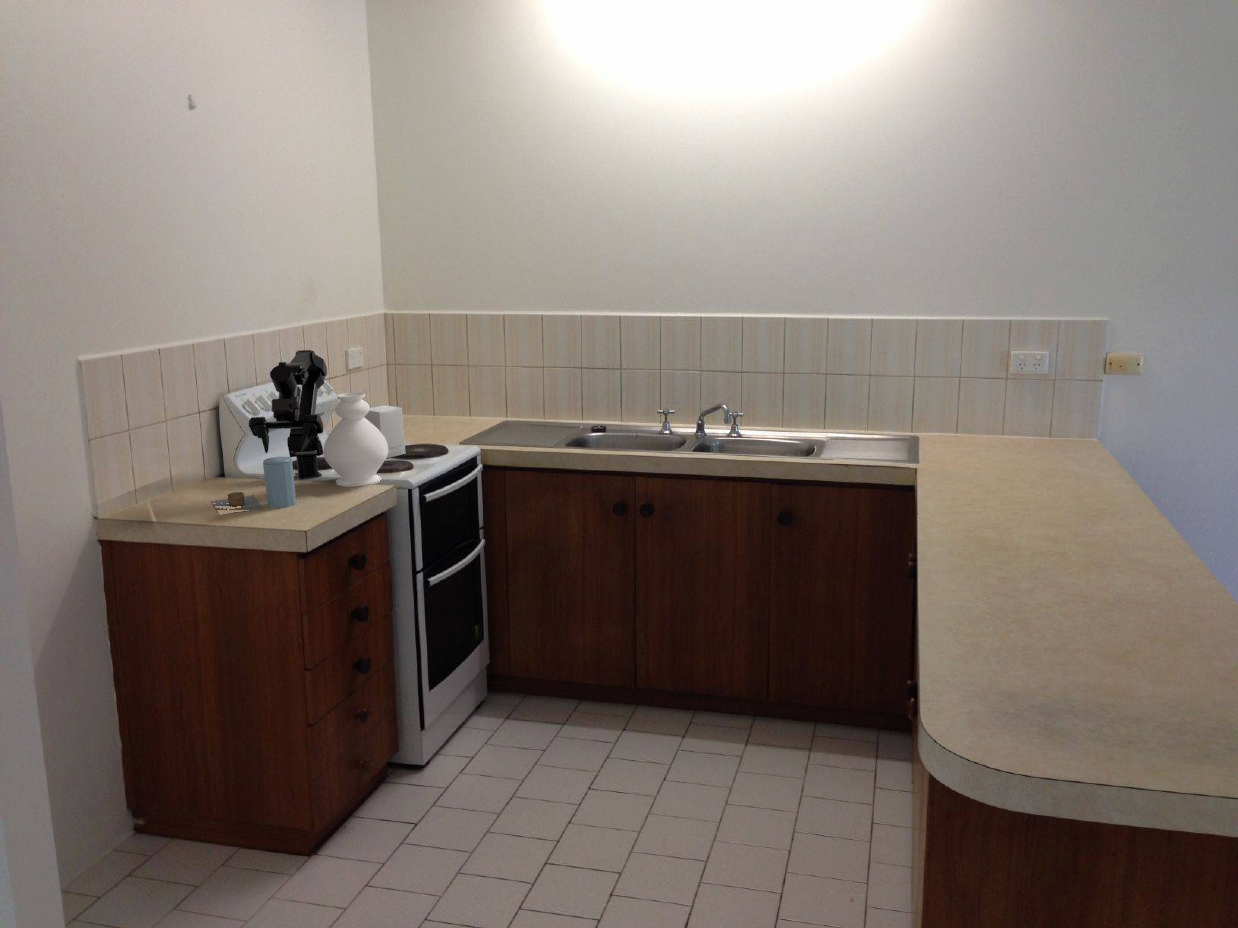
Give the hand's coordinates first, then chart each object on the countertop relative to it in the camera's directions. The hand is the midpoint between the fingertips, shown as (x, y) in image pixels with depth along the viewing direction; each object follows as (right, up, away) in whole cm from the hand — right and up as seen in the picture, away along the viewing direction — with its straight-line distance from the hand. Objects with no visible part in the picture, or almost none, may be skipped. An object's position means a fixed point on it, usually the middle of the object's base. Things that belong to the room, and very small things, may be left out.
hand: (283, 451), depth 289 cm
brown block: (-11, -14, -4) cm, 18 cm away
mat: (-11, -15, -3) cm, 19 cm away
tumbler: (+1, -14, -4) cm, 15 cm away
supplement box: (+16, -1, +52) cm, 54 cm away
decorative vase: (+15, -8, +20) cm, 26 cm away
